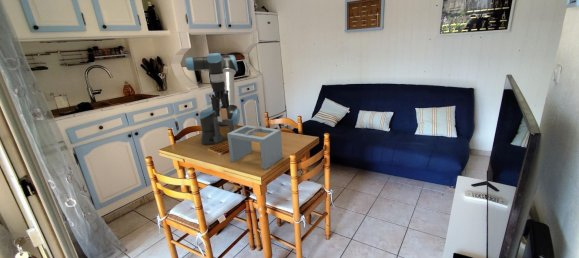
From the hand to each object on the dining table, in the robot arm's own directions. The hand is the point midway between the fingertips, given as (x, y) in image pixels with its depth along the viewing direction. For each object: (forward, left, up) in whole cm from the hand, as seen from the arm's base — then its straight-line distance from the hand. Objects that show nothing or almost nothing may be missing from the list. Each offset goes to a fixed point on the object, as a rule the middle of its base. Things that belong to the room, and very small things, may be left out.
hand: (222, 120), depth 165 cm
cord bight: (0, 0, -14) cm, 14 cm away
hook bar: (+23, 0, -5) cm, 24 cm away
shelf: (+23, 0, -21) cm, 32 cm away
